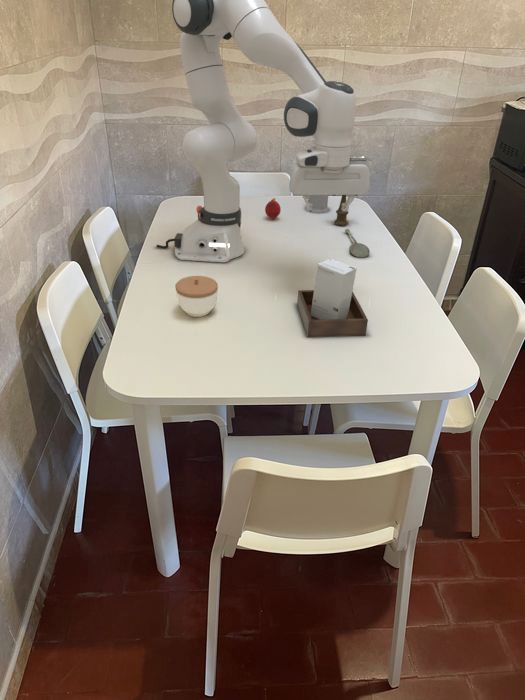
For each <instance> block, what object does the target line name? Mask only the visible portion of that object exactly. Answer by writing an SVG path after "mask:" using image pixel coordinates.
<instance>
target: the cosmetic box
mask: <svg viewBox="0 0 525 700" xmlns="http://www.w3.org/2000/svg"><path fill="white" fill-rule="evenodd" d="M356 274H357V267H355V266H352V265H349V264H347V263H345V262H343V261H339V260H337V259H334V258H331V257H329V258H327V259H325V260H323V261H321V262H319V263H317V268H316V275H315V281H314V287H313V288H314V289H313V290H314V294H313V301H312V308H311V316H312V317H314V318H317V319H319V320H327V319H347V318H348V313H349V307H350V302H351V296H352V291H353V290H354V286H355V285H354V284H355V281H356V280H355V279H356ZM353 292H354V291H353Z"/></svg>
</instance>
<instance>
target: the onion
mask: <svg viewBox="0 0 525 700" xmlns="http://www.w3.org/2000/svg"><path fill="white" fill-rule="evenodd" d="M281 211H282V208H281V205H280V203H279V202H278V201H276V198H274V197H273V198H271V199H270V200H269V202H267V203H266V205H265V208H264V212H265V215H266V216H267V217H268V218H269V219H271V220H275V219H276V218H277V217H279V216H280V214H281Z"/></svg>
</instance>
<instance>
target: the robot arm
mask: <svg viewBox="0 0 525 700" xmlns="http://www.w3.org/2000/svg"><path fill="white" fill-rule="evenodd" d="M171 12H172V16H173V17H172V18H173V21H174V23H175V25H176V27H177V28H178V30H180V31H181V32H182V33H181V34H180V38H179V46H180V56H181V63H182V69H183V73H184V77H185V81H186V86H187V89H188V93H189V98H190V100H191V104H192V106H193V107H194V108H195V109H197V110H198V111H199V112H201V113H202V114H203V115H204V116H205V118H206V119H207V121H208V123H209V124H206V125H200V126H198V127H195V128H194V129H192V130H190V131H188V132H186V134H185V135H184V137H183V139H182V153H183V155H184V157H185V159H186V160H187V162H188V163H189V164H190V165H191V166H193V167H194V169H196V171H197V173H198V174H199V178H200V180H201V185H202V192H203V193H202V194H203V206H202V205H197V207H196V213H197V220H195V221H194V222H193V223H192V224H190V225H188V226H187V227H186V228H185V229H184V230H183V232H181V233H180V232H177V233H176V235H175V236H174V238H169V239H166V241H165V245H161V244H156V245H155V246H156V248H159V249H168V248H169V243H170V242H173V244H174V255H175V257H176V258H177V259H179V260H181V261H194V262H209V263H210V262H211V263H228V262H229V261H230V260H232V259H235V258H238V257H240V256H242V255H244V253H245V248H244V245H243V239H242V231H241V225H242V208H241V207H240V205H241V204H240V203H241V201H240V200H241V198H240V194H241V193H240V191H241V189H240V188H241V187H240V183H239V181H238V180H237V179H236V178H235V177H234V176H232V175H231V174H230V171H229V162H233V161H237V160H241V159H244V158H245V157H247V156H248V155H250V154H252V153H253V152H254V151H255V149H256V147H257V144H258V136H257V135H258V134H257V131H256V130H255V128H254V126H253V125H252V124H251V123H250V122H249V121H247V120H246V119H245V118H244V117H243V116H242V114H241V112H240V111H239V109H238V108H237V106H236V104H235V102H234V100H233V98H232V95H231V92H230V89H229V84H228V80H227V76H226V71H225V68H224V64H223V59H222V56H221V49H220V45H221V41H222V39H223V40H225V41H229V40H231V39H233V40H234V42H235V44H236V45H237V47H238V49H239V50H240V52H241V53H242V54H243V55H244V56H245V57H246V59H248V60H249V61H250V62H252V64H253V63H254V64H256V65H259V66H263V67H267V68H271V69H275V70H278V71H280V72H282V73H284V74H285V75H287V76H288V77H289V78H291V79H292V81H293V82H294V84H295V85H296V86H297V87H298V89H299V90H300V92H301V93H302V94H298V95H295V96H293V97H291V98H290V99H288V101H287V102H286V104H285V106H284V109H283V121H284V122H283V123H284V126H285V128H286V129H287V131H288V132H289V133H290V135H292V136H293V137H297V138H307V137H313V138H314V139H315V140H314V141H315V142H314V146H311V147H309V148H305V149H302V150H300V151H297V152H296V153H295V160H296V162H295V163H294V164H293V166H292V167H291V172H290V176H289V177H290V178H289V188H288V189H289V191H290V193H291V194H292V195H293V196H302V199H303V201H304V203H305V211H306V213H314V212H313V205H312V203H309V202H308V199H309V197H310V195H328V196H333V195H336V196H342V195H346V202H345V203H342V207H341V210H342V211H348V212H349V210H350V209H349V208H350V205H351V204H352V203H353V201H354V200H355V195H357V196H359V195H362V196H363V195H364V196H365V195H367V194H368V192H369V191H370V179H371V178H370V177H371V176H370V173H371V172H372V169H373V160H371V158H369V157H368V156H367V155H362V156H358V155H351V154H352V145H353V141H352V140H353V139H352V132H353V129H354V128H355V127H354V126H355V118H356V103H357V101H356V93H355V90H354V88H352V86H351V85H349V84H347V83H344V82H341V81H336V80H335V81H334V80H328V81H326V79H325V78H324V77H323V75H322V74H321V72H320V71H319V70H318V68H317V67H316V66H315V64H314V63H313V62H312V60H311V59H310V58H309V56H308V55H307V54H306V52H305V51H304V50H303V49H302V47H301V46H300V45H299V44H298V43H297V42H296V41H295V40H294V39H293V38H292V36H290V35H289V34H288V32H287V31H286V30H285V28H284V27H283V26H282V25H281V24H280V22H279V21H278V19H277V18H276V16H275V15H274V13H273V11H272V10H271V9H270V7H269V5H268V3H267V2H266V1H265V0H172V6H171Z"/></svg>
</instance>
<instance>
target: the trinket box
mask: <svg viewBox="0 0 525 700" xmlns="http://www.w3.org/2000/svg"><path fill="white" fill-rule="evenodd" d="M218 289H219V284H218V282H217V281H216V280H215V279H214V278H213V277H209V276H204V275H191V276H186V277H182V278H181V279H179V280H178V281H176V283H175V292H176V299H177V303H178V305H179V307H180V309H181V310H182V311H183V312H185V313H186V315H187V316H190V317H193V318H200V317H201V318H202V317H205V316H207V315H208V314H209V313H210V312H211V311H212V310H213V309H214V308H215V306H216V303H217V300H218Z"/></svg>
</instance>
